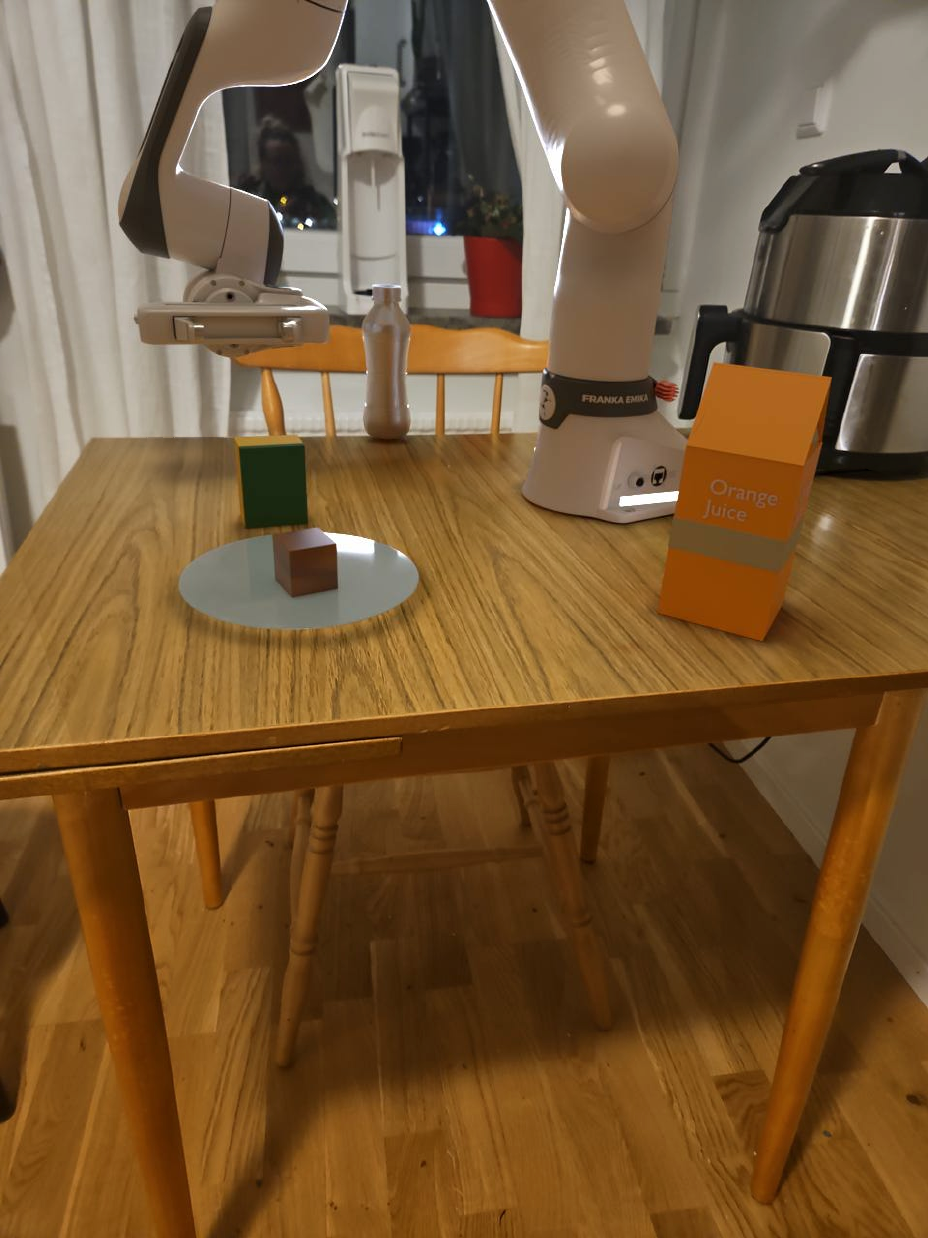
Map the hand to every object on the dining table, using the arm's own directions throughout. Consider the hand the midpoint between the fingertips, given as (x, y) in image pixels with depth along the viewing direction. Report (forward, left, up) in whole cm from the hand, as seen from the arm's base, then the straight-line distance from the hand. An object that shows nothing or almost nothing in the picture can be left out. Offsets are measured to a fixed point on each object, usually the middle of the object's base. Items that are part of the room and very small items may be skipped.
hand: (245, 334), depth 83 cm
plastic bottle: (-21, -20, -17) cm, 34 cm away
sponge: (0, +12, -17) cm, 21 cm away
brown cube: (0, +28, -16) cm, 32 cm away
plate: (0, +26, -17) cm, 31 cm away
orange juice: (-33, +40, -17) cm, 55 cm away
